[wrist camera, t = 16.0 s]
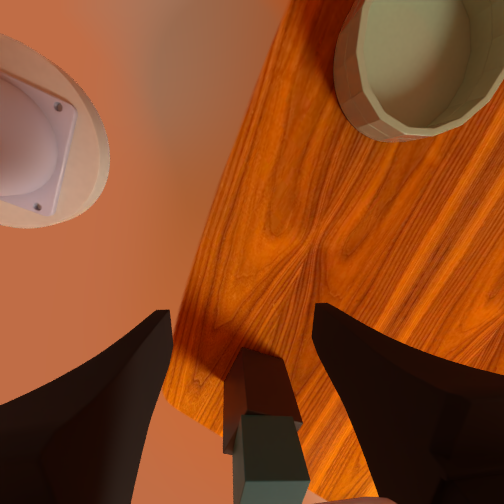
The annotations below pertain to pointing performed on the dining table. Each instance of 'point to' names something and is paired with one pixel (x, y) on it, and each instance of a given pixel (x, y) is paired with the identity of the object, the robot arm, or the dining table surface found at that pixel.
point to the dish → (417, 65)
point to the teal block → (268, 462)
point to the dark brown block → (256, 392)
